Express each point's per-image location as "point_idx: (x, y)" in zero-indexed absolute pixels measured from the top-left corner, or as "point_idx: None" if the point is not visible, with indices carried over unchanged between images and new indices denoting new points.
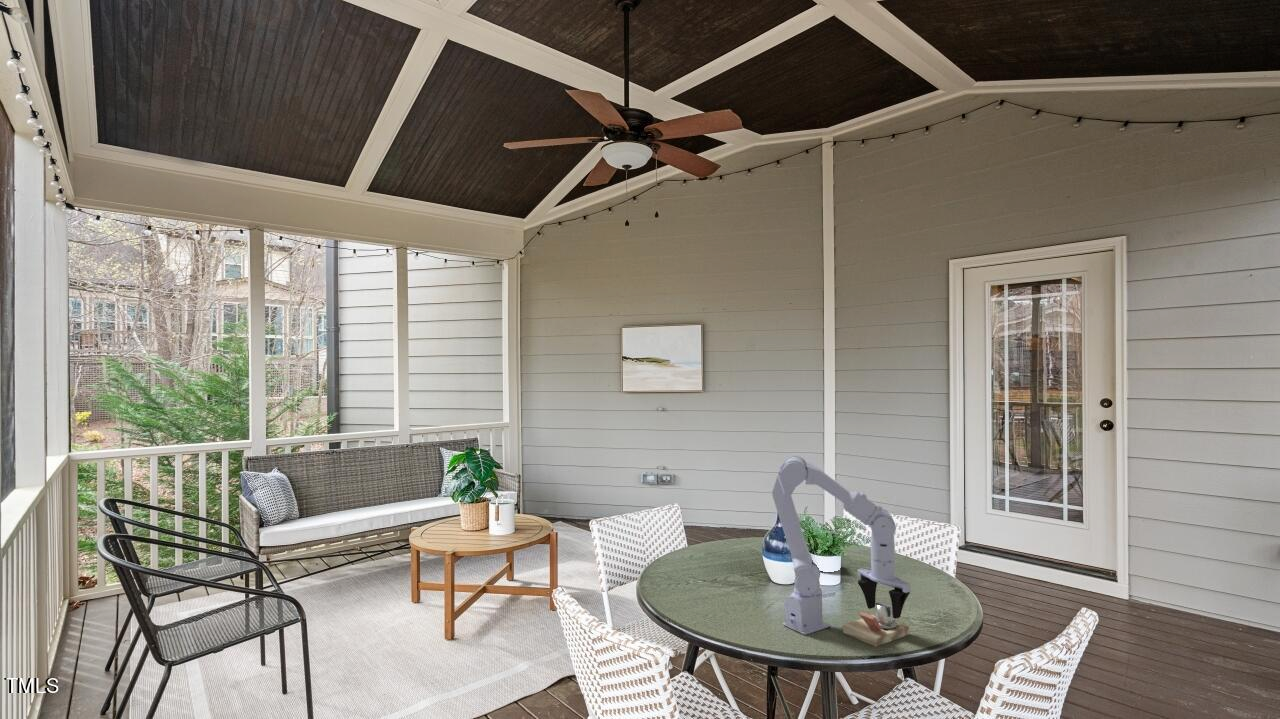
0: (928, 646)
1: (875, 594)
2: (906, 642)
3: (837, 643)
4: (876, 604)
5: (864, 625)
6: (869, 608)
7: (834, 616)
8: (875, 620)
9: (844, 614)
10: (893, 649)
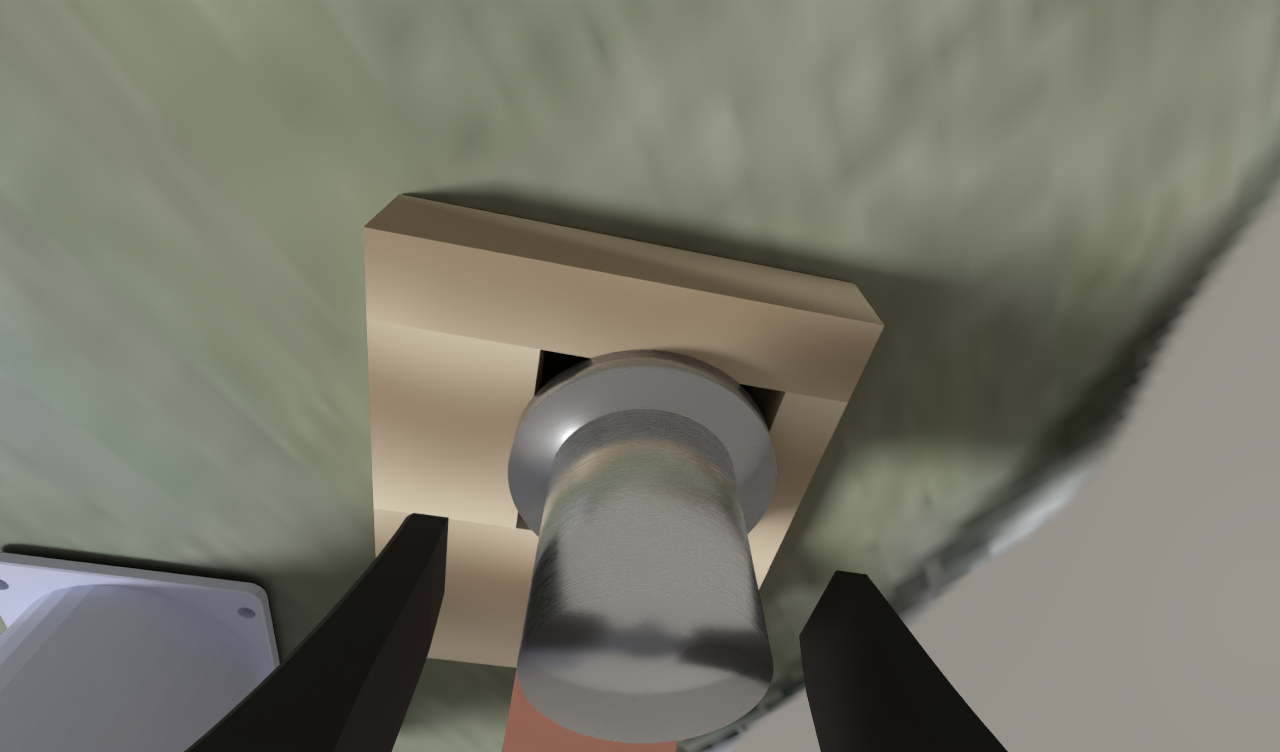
0: (1067, 409)
1: (370, 672)
2: (872, 454)
3: (496, 707)
4: (559, 724)
5: (507, 573)
6: (439, 596)
7: (48, 380)
8: (671, 746)
9: (29, 258)
10: (818, 597)
